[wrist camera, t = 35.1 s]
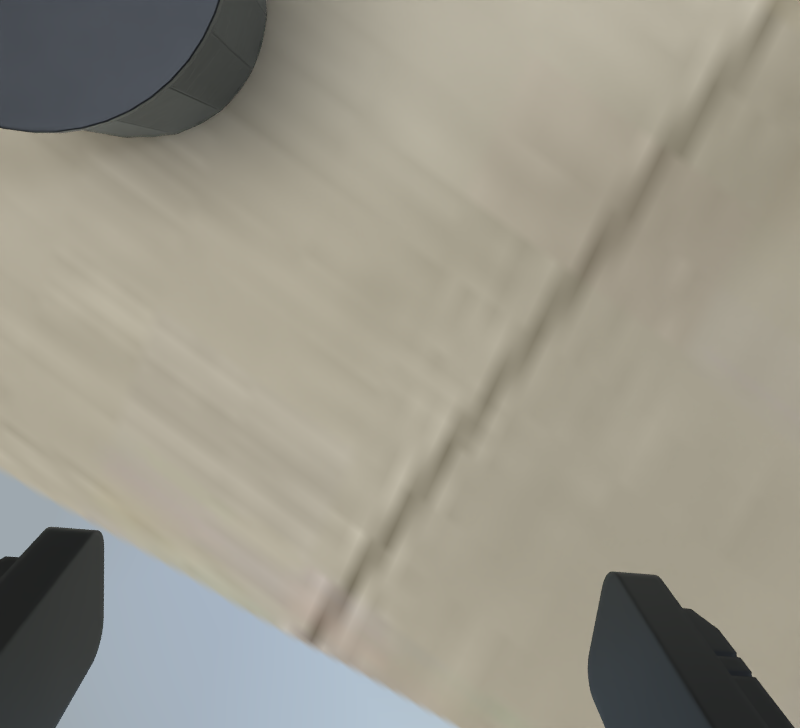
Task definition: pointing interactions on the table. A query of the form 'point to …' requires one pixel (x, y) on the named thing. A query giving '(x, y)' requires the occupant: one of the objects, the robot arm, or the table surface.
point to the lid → (93, 58)
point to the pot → (203, 76)
